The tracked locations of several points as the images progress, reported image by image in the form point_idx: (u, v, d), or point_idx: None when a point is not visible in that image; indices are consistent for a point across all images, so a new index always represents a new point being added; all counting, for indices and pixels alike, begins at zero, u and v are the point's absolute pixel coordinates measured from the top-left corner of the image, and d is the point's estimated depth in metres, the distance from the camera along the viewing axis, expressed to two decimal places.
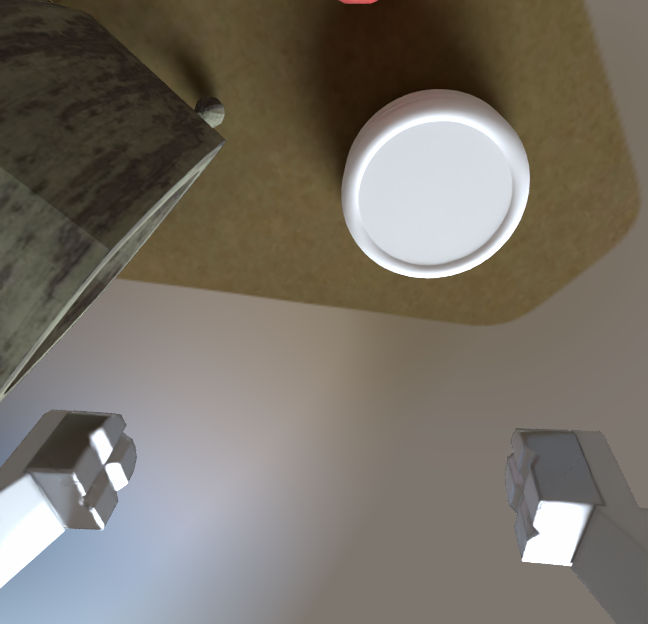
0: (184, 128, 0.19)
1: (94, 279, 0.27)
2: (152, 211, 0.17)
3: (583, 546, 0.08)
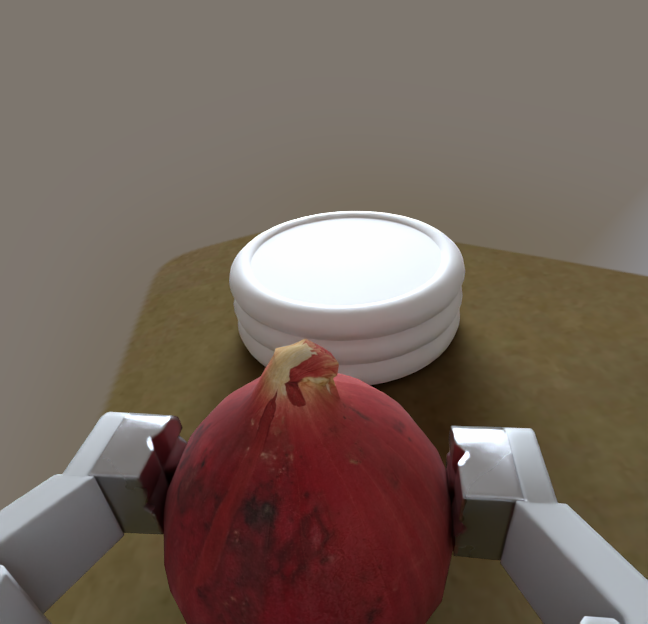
0: None
1: None
2: None
3: (508, 541, 0.08)
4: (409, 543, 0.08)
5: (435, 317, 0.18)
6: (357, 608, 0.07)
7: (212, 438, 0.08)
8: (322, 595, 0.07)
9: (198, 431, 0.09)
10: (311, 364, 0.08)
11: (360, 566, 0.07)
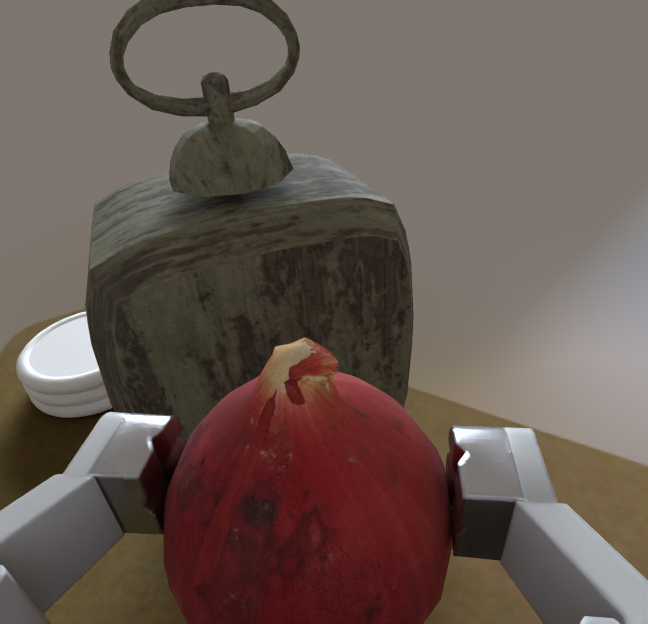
0: None
1: None
2: None
3: (508, 541, 0.08)
4: (407, 540, 0.08)
5: None
6: (356, 606, 0.07)
7: (212, 437, 0.08)
8: (321, 593, 0.07)
9: (198, 429, 0.09)
10: (310, 363, 0.08)
11: (359, 564, 0.07)
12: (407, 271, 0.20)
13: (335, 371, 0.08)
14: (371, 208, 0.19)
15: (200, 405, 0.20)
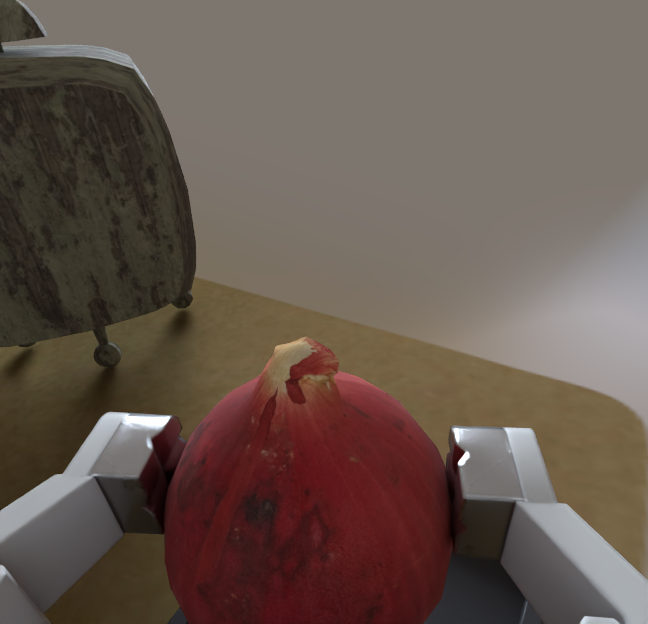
0: None
1: None
2: None
3: (508, 541, 0.08)
4: (409, 541, 0.08)
5: None
6: (357, 606, 0.07)
7: (213, 436, 0.08)
8: (322, 593, 0.07)
9: (198, 429, 0.09)
10: (312, 362, 0.08)
11: (360, 563, 0.07)
12: (143, 127, 0.23)
13: (336, 370, 0.08)
14: (104, 67, 0.22)
15: None
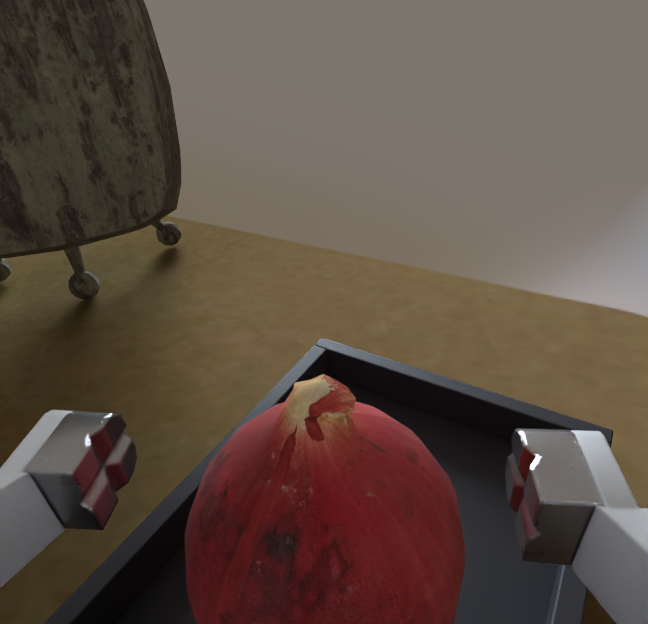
0: None
1: None
2: None
3: (583, 546, 0.08)
4: (422, 572, 0.08)
5: None
6: None
7: (234, 468, 0.09)
8: None
9: (218, 459, 0.09)
10: (329, 400, 0.08)
11: (377, 596, 0.08)
12: None
13: (352, 407, 0.08)
14: None
15: None
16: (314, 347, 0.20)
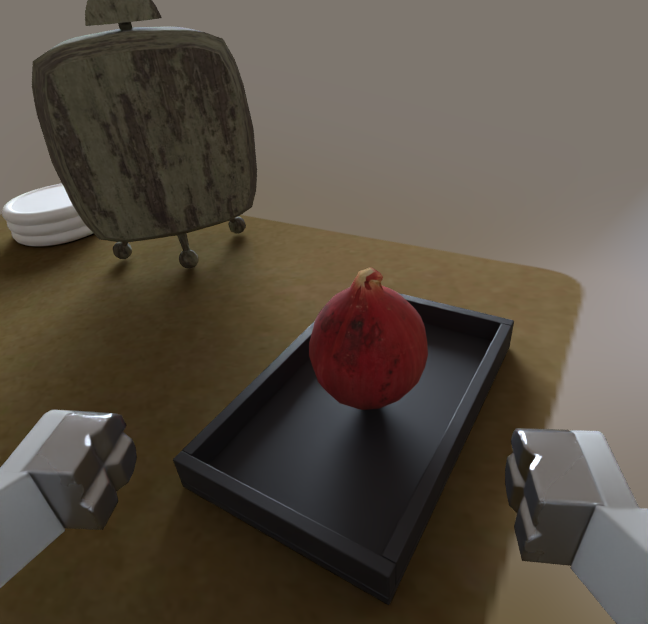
0: None
1: None
2: None
3: (583, 546, 0.08)
4: (408, 338, 0.21)
5: (74, 218, 0.48)
6: (391, 357, 0.21)
7: (335, 305, 0.22)
8: (379, 352, 0.21)
9: (325, 307, 0.23)
10: (373, 275, 0.21)
11: (392, 343, 0.21)
12: (230, 78, 0.33)
13: (381, 279, 0.22)
14: (205, 37, 0.32)
15: (104, 157, 0.33)
16: None
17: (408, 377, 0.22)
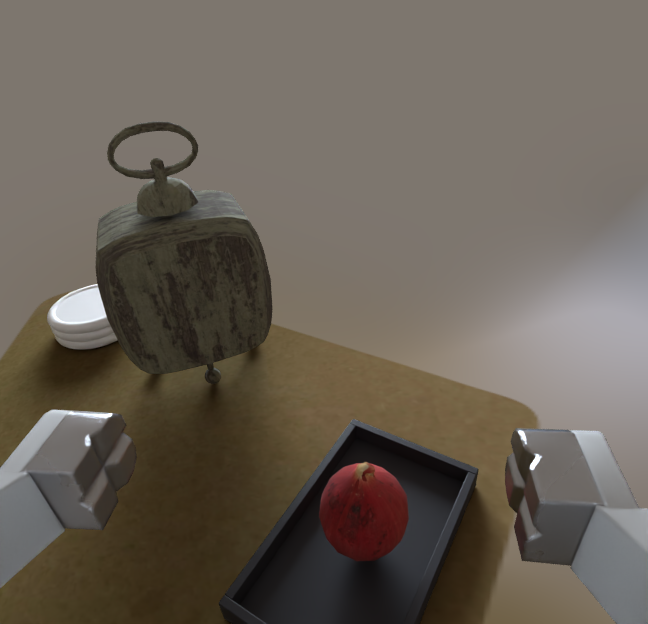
0: None
1: None
2: None
3: (583, 546, 0.08)
4: (393, 517, 0.29)
5: (110, 326, 0.55)
6: (380, 533, 0.29)
7: (339, 488, 0.30)
8: (371, 529, 0.29)
9: (332, 484, 0.31)
10: (368, 470, 0.29)
11: (381, 522, 0.29)
12: (254, 253, 0.41)
13: (374, 471, 0.29)
14: (234, 222, 0.40)
15: (151, 318, 0.40)
16: (349, 424, 0.41)
17: (393, 543, 0.29)
